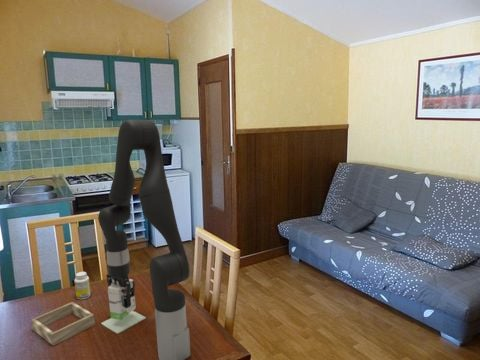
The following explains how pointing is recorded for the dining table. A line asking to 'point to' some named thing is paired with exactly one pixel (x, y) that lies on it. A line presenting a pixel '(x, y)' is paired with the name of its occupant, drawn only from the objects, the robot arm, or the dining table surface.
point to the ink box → (119, 302)
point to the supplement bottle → (82, 285)
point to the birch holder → (64, 332)
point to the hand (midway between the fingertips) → (122, 304)
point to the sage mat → (123, 322)
